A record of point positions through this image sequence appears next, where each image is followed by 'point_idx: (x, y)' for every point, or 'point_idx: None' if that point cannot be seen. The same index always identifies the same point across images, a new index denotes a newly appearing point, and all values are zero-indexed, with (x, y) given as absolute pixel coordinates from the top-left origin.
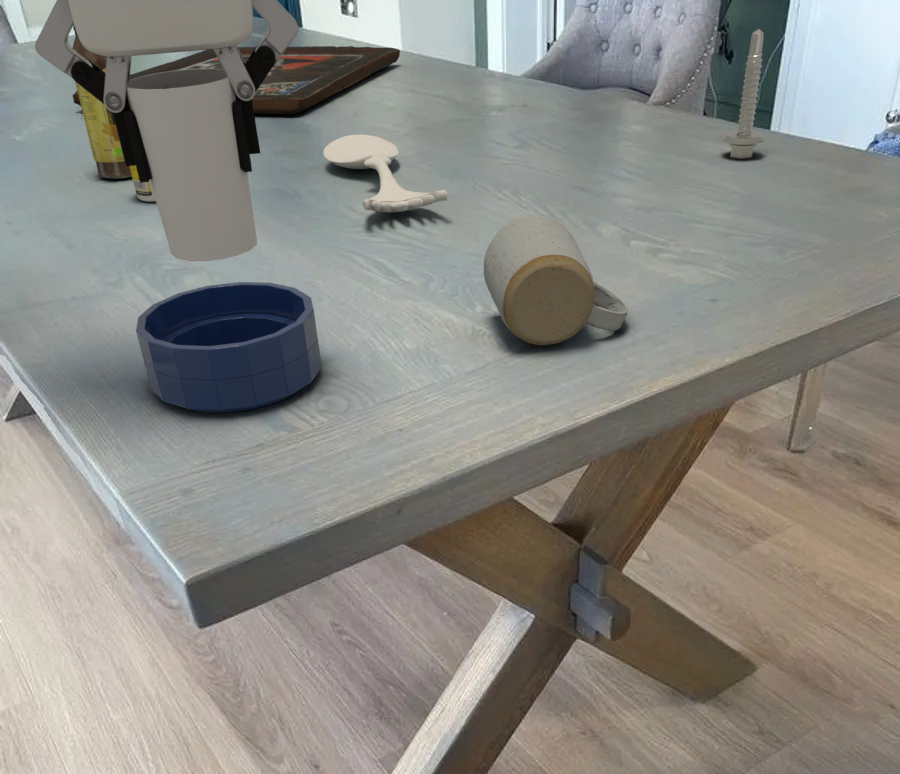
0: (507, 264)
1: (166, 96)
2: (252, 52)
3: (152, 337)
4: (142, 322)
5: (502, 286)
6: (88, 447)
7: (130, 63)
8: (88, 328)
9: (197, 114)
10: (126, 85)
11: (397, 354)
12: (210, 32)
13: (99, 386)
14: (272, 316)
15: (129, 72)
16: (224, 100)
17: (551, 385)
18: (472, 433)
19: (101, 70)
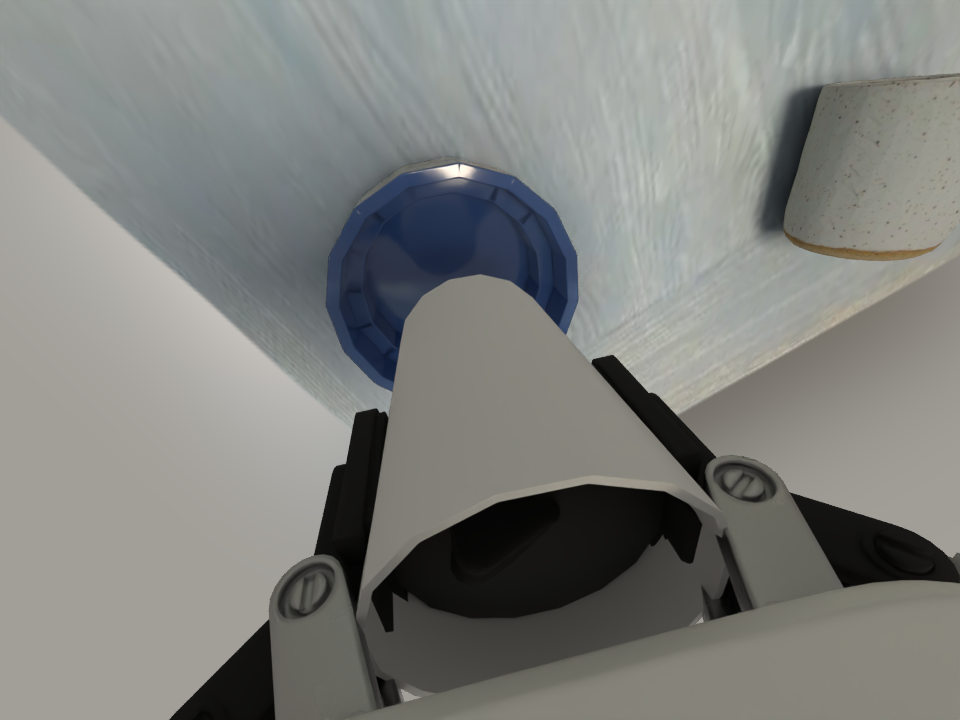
0: (866, 217)
1: None
2: (866, 578)
3: (377, 374)
4: (342, 327)
5: (826, 235)
6: (328, 407)
7: (381, 699)
8: (84, 4)
9: (574, 606)
10: (402, 695)
11: (640, 216)
12: None
13: (264, 276)
14: (500, 196)
15: (370, 662)
16: (650, 585)
17: (760, 310)
18: (665, 389)
19: (265, 716)
